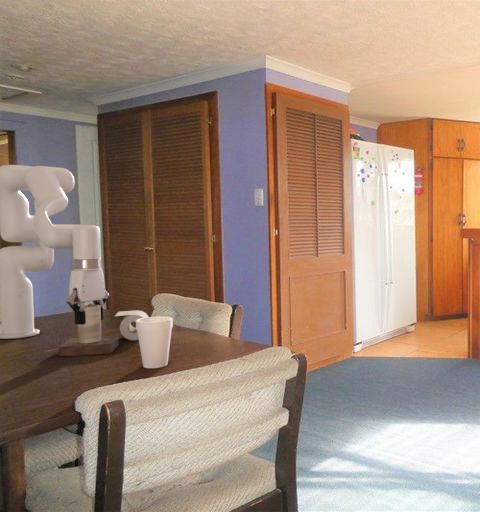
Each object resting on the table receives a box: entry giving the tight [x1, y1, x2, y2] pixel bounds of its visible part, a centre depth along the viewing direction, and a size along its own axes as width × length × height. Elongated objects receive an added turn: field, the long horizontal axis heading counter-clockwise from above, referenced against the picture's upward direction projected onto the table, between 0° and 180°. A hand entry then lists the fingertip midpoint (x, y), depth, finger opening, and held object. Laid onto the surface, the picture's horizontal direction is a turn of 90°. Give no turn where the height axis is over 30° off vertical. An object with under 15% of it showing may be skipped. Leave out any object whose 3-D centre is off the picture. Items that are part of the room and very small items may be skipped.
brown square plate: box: [58, 335, 120, 357], centre depth 165 cm, size 14×12×3 cm
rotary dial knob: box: [77, 303, 102, 343], centre depth 164 cm, size 6×6×11 cm
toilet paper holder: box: [114, 309, 150, 341], centre depth 184 cm, size 12×9×15 cm
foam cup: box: [135, 316, 174, 369], centre depth 148 cm, size 10×9×13 cm
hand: (89, 321), depth 164 cm, fingers open, 6 cm apart
